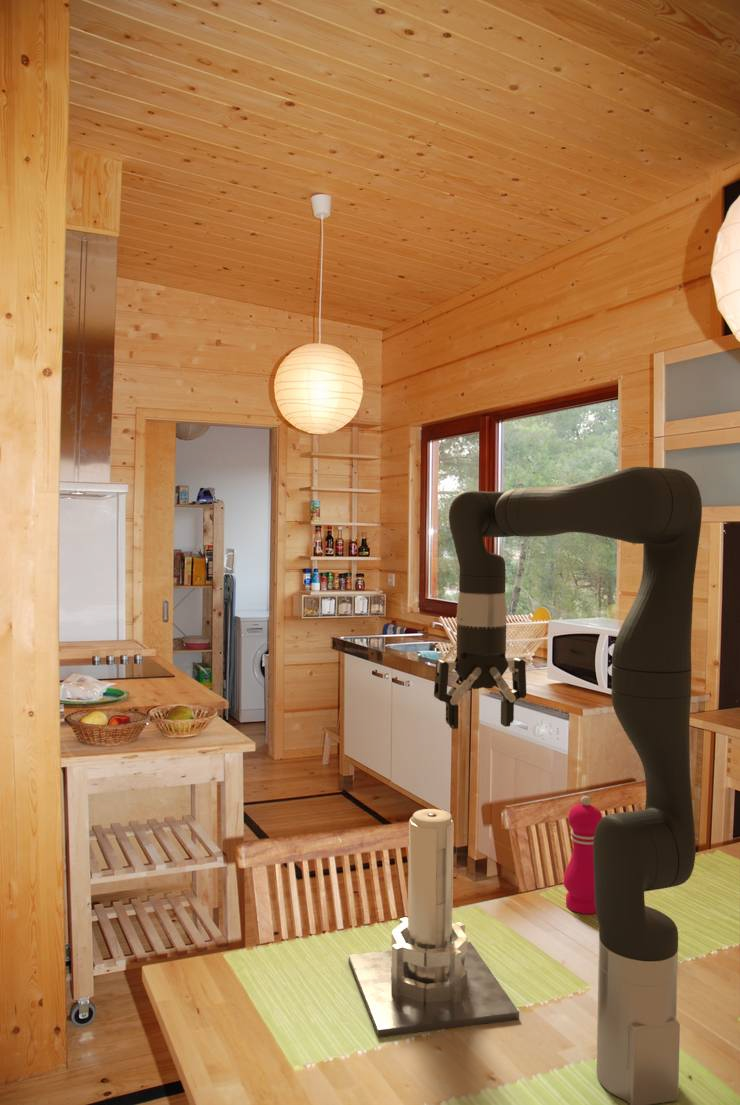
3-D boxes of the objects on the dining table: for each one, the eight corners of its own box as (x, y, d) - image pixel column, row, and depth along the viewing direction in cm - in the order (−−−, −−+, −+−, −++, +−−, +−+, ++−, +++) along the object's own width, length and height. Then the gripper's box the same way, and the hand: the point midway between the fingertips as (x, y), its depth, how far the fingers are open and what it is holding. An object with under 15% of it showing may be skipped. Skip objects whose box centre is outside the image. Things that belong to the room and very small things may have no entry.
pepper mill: (555, 900, 154) (557, 791, 153) (590, 895, 156) (592, 788, 155) (576, 918, 147) (578, 804, 146) (612, 912, 149) (615, 800, 149)
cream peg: (451, 971, 127) (453, 807, 126) (451, 995, 121) (453, 822, 120) (408, 969, 128) (410, 805, 127) (405, 992, 121) (407, 820, 120)
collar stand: (519, 1019, 117) (519, 962, 117) (378, 1037, 112) (378, 978, 112) (470, 948, 136) (470, 899, 136) (348, 961, 132) (349, 910, 132)
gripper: (445, 625, 124) (444, 735, 125) (535, 623, 128) (533, 730, 128) (429, 619, 131) (428, 723, 132) (514, 618, 135) (512, 719, 135)
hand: (479, 726), depth 130 cm, fingers open, 8 cm apart
